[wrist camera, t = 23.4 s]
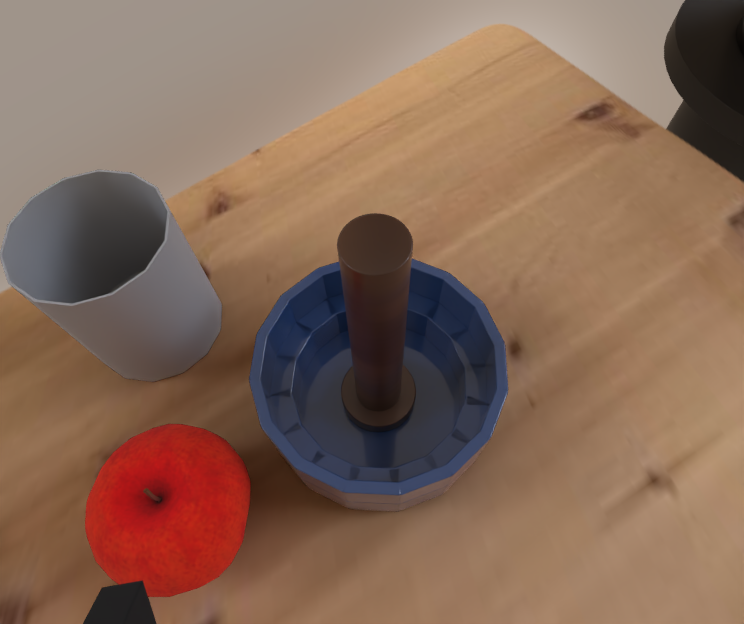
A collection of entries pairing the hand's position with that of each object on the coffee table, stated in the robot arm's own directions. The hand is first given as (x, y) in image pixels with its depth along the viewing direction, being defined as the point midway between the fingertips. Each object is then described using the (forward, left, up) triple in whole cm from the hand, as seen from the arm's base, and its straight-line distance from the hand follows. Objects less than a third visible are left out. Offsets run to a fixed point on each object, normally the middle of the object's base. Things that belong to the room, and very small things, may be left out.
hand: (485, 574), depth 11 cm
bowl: (-1, -10, -20) cm, 22 cm away
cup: (+11, -20, -20) cm, 31 cm away
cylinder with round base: (-1, -10, -19) cm, 22 cm away
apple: (+11, -7, -20) cm, 24 cm away
